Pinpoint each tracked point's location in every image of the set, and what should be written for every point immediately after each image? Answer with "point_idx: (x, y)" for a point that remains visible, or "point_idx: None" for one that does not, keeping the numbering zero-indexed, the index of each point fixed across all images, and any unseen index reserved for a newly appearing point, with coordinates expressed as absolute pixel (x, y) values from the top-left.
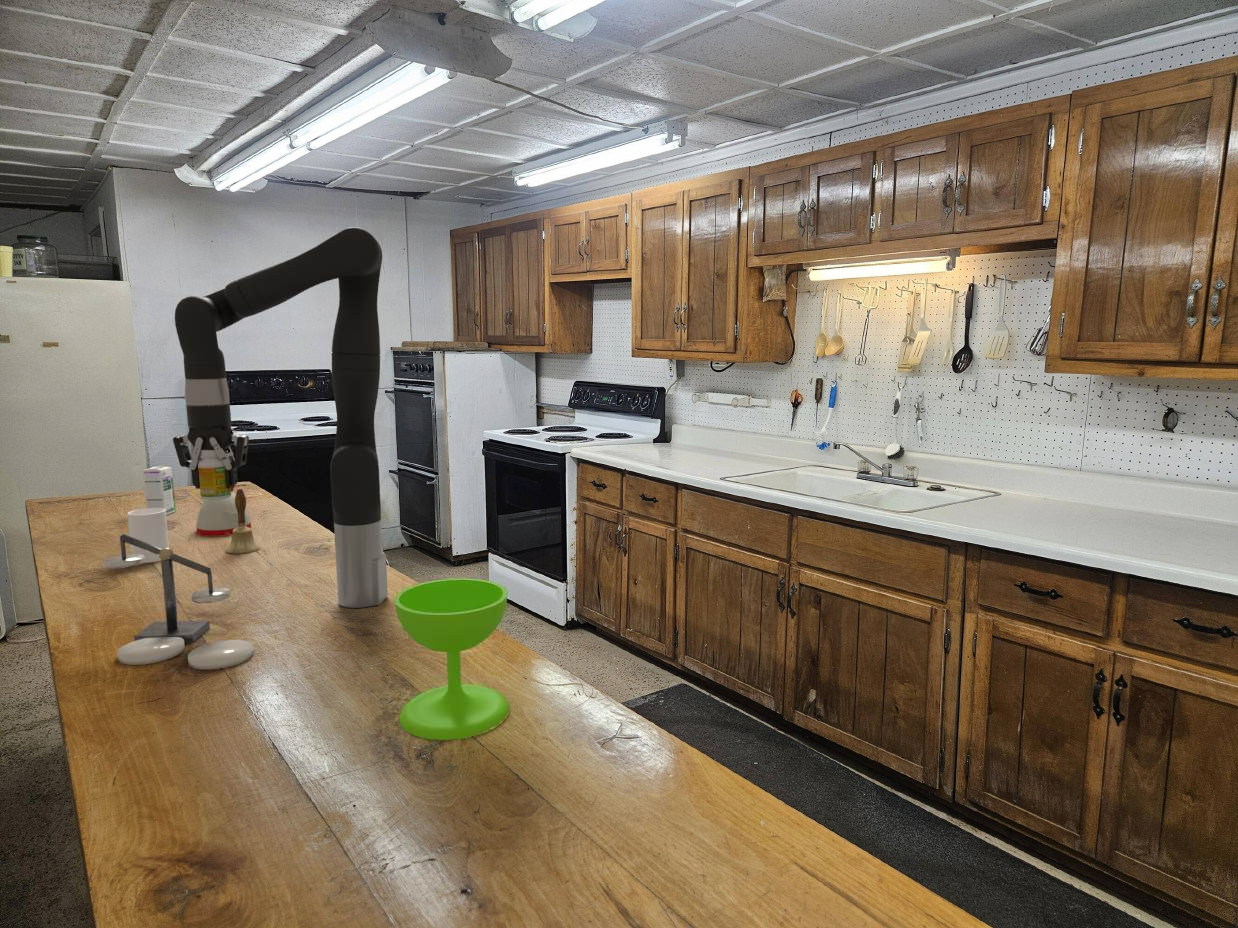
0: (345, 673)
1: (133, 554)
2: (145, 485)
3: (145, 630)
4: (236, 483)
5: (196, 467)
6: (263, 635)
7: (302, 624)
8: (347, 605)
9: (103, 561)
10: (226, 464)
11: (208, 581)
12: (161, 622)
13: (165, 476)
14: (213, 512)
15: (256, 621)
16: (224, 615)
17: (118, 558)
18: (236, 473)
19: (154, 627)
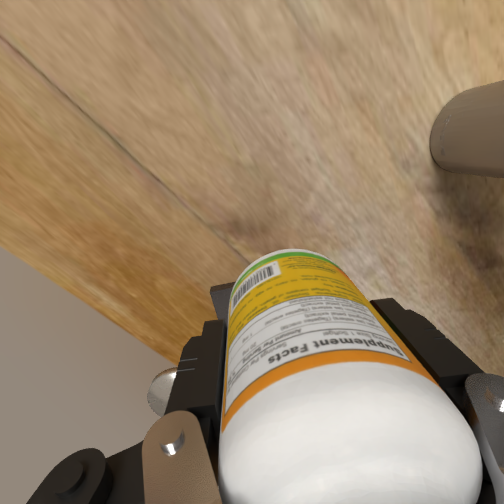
0: (479, 353)
1: (173, 376)
2: None
3: (221, 316)
4: (413, 316)
5: (216, 482)
6: (361, 284)
7: (398, 244)
8: (452, 171)
9: (157, 414)
10: (482, 493)
11: None
12: (221, 291)
13: None
14: None
15: (330, 242)
16: (271, 226)
17: (168, 398)
18: (464, 358)
19: (225, 307)
